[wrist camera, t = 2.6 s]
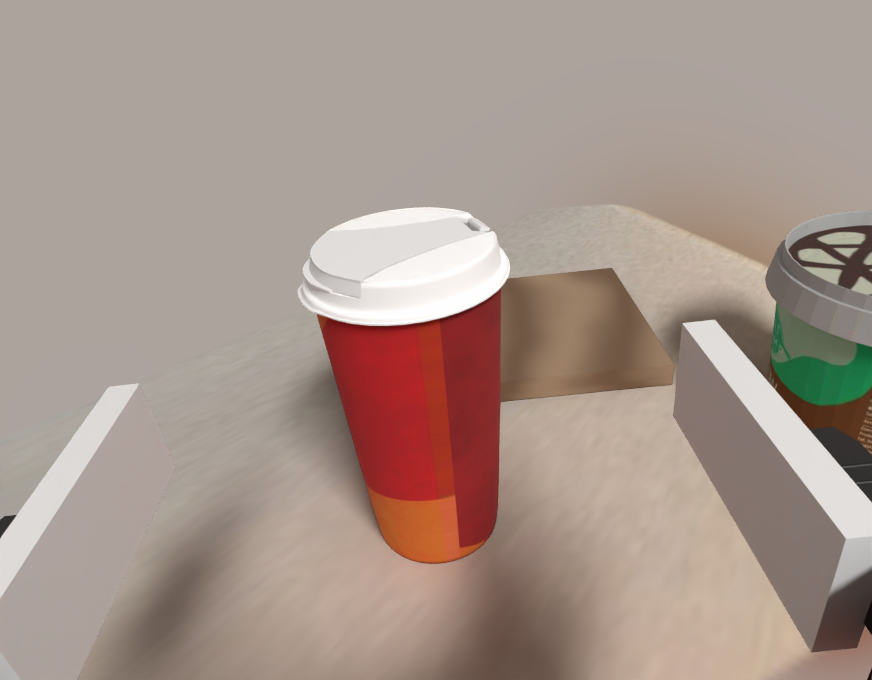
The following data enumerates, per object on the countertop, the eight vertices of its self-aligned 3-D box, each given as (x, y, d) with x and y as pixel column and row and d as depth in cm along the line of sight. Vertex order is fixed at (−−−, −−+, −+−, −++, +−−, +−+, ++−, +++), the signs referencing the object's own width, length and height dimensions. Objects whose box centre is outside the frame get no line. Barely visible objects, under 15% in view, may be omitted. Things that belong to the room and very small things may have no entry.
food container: (730, 353, 42) (754, 207, 37) (836, 358, 40) (877, 206, 35) (760, 486, 32) (799, 310, 27) (903, 500, 30) (973, 316, 25)
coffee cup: (479, 443, 37) (459, 189, 29) (550, 547, 30) (548, 252, 22) (338, 490, 35) (275, 229, 27) (380, 612, 28) (312, 312, 20)
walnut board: (383, 413, 40) (380, 393, 39) (389, 307, 52) (387, 291, 51) (671, 384, 40) (674, 364, 39) (611, 284, 52) (611, 267, 51)
